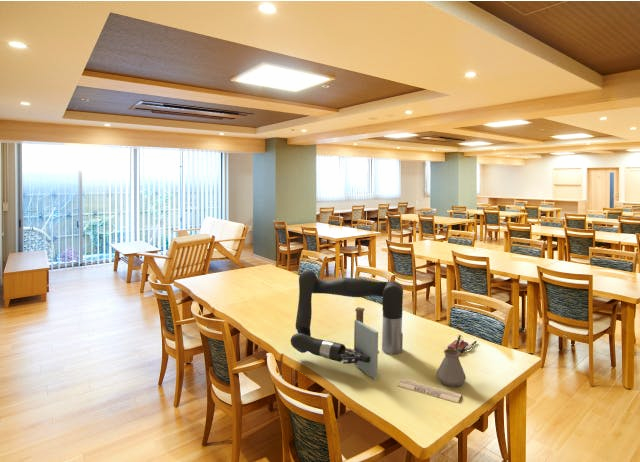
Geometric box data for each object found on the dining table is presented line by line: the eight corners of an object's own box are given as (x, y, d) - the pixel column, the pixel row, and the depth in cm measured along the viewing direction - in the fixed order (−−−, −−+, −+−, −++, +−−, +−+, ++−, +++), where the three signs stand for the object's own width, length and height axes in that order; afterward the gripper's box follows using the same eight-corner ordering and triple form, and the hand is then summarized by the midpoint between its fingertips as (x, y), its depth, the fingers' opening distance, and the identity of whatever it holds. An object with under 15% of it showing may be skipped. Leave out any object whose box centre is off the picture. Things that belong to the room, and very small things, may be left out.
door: (353, 363, 175) (353, 320, 172) (359, 361, 177) (360, 319, 174) (373, 379, 161) (374, 332, 159) (380, 377, 163) (381, 331, 160)
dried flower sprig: (463, 358, 183) (478, 344, 198) (464, 349, 182) (478, 336, 197) (445, 352, 188) (460, 340, 203) (445, 344, 188) (461, 332, 203)
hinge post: (357, 359, 180) (358, 307, 177) (363, 361, 178) (364, 308, 175) (354, 362, 177) (355, 309, 174) (360, 363, 176) (361, 310, 173)
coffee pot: (462, 392, 153) (464, 355, 151) (432, 384, 158) (434, 349, 157) (472, 369, 171) (474, 337, 169) (445, 363, 177) (447, 331, 175)
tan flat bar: (461, 397, 150) (461, 393, 150) (457, 406, 144) (457, 402, 144) (402, 381, 162) (402, 377, 162) (396, 389, 156) (396, 384, 156)
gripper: (325, 348, 164) (363, 357, 156) (339, 337, 176) (375, 345, 167) (325, 365, 165) (363, 375, 157) (339, 353, 177) (375, 362, 168)
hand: (369, 360), depth 162 cm, fingers closed
